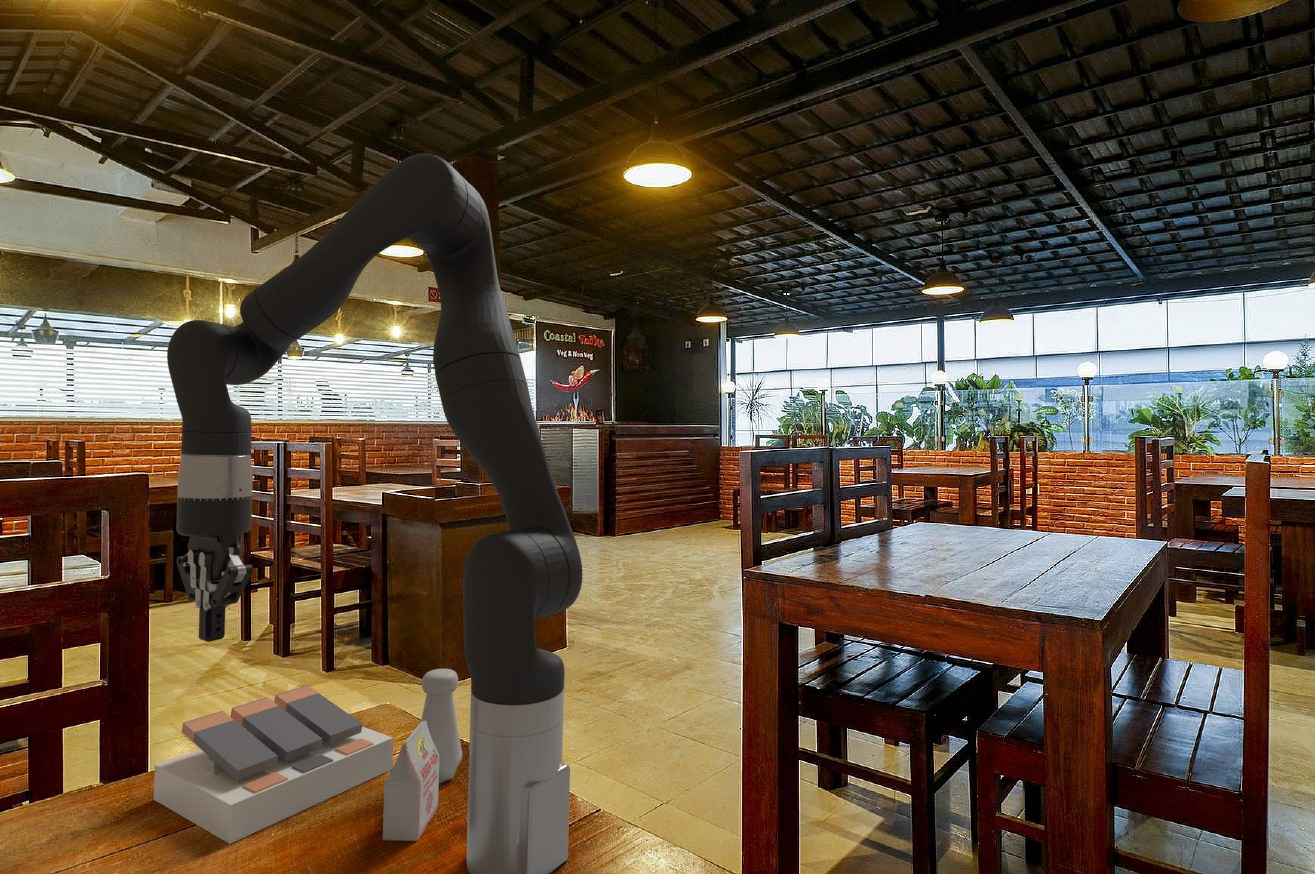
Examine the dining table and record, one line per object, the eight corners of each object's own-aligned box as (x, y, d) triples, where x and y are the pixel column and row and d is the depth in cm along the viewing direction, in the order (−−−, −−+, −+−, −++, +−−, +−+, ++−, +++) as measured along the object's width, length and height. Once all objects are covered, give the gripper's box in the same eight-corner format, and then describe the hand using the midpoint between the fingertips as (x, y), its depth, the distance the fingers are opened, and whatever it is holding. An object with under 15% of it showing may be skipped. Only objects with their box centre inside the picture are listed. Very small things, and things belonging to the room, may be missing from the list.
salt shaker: (453, 788, 86) (456, 680, 86) (406, 786, 86) (409, 678, 86) (467, 766, 92) (469, 665, 92) (423, 764, 92) (425, 663, 92)
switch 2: (321, 748, 85) (322, 738, 85) (285, 762, 82) (287, 752, 81) (265, 706, 91) (267, 697, 91) (230, 717, 88) (231, 707, 88)
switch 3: (361, 732, 90) (362, 723, 90) (329, 745, 86) (330, 735, 86) (306, 693, 96) (307, 685, 96) (274, 703, 92) (275, 694, 92)
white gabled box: (382, 840, 75) (385, 744, 75) (405, 806, 81) (408, 719, 82) (417, 841, 75) (420, 745, 75) (437, 807, 81) (440, 720, 82)
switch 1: (276, 765, 81) (278, 755, 80) (236, 781, 77) (238, 770, 77) (221, 720, 87) (222, 710, 87) (181, 732, 83) (183, 722, 83)
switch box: (392, 769, 90) (393, 726, 90) (229, 844, 73) (231, 791, 73) (315, 738, 99) (316, 699, 99) (153, 799, 81) (154, 752, 81)
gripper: (279, 495, 84) (274, 642, 84) (219, 488, 91) (215, 624, 91) (211, 498, 77) (207, 658, 77) (152, 491, 84) (148, 637, 84)
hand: (211, 639), depth 84 cm, fingers closed
